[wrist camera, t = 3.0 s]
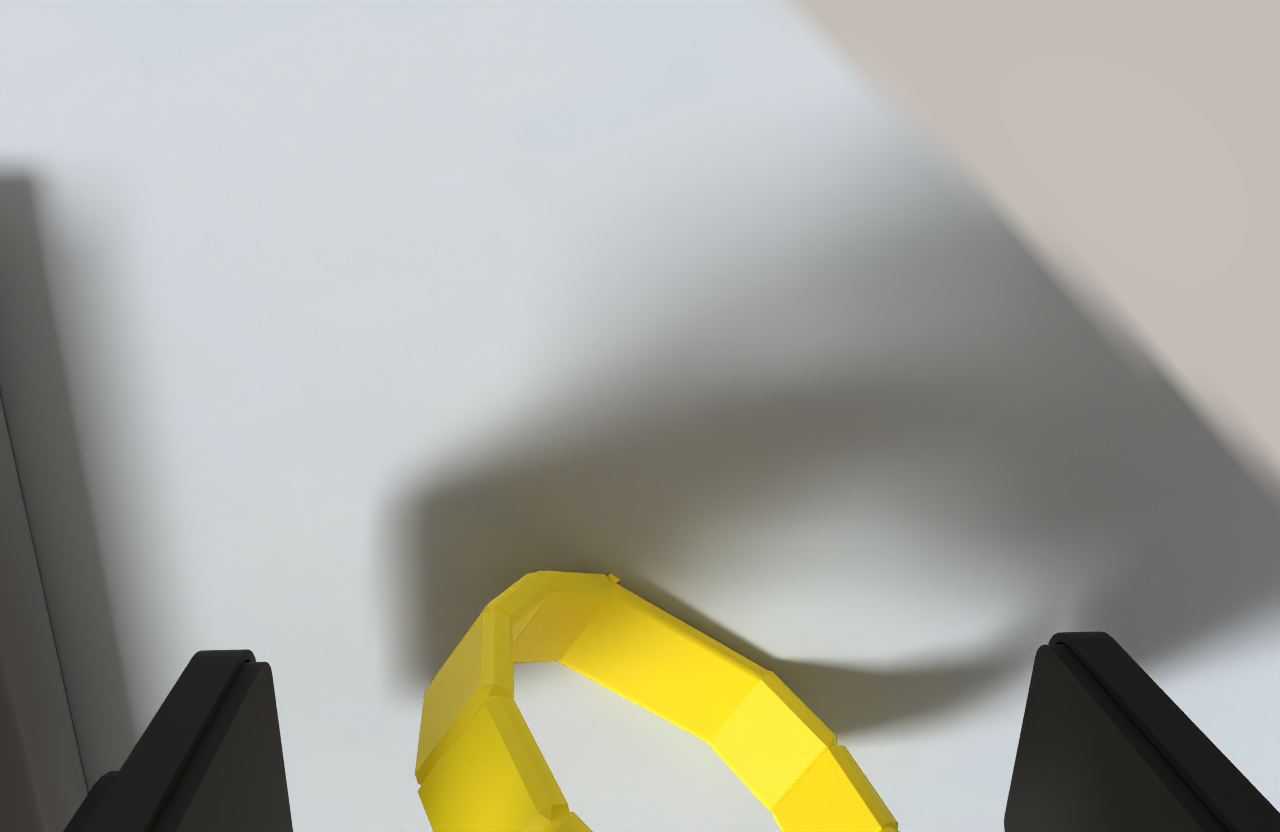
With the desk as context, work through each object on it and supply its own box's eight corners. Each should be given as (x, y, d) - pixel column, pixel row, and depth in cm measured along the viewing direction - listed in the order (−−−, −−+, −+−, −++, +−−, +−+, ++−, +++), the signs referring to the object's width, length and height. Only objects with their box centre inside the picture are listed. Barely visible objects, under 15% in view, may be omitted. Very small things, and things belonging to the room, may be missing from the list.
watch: (435, 622, 13) (281, 1012, 7) (546, 468, 12) (469, 767, 7) (780, 826, 14) (877, 1303, 8) (899, 694, 13) (1091, 1117, 8)
